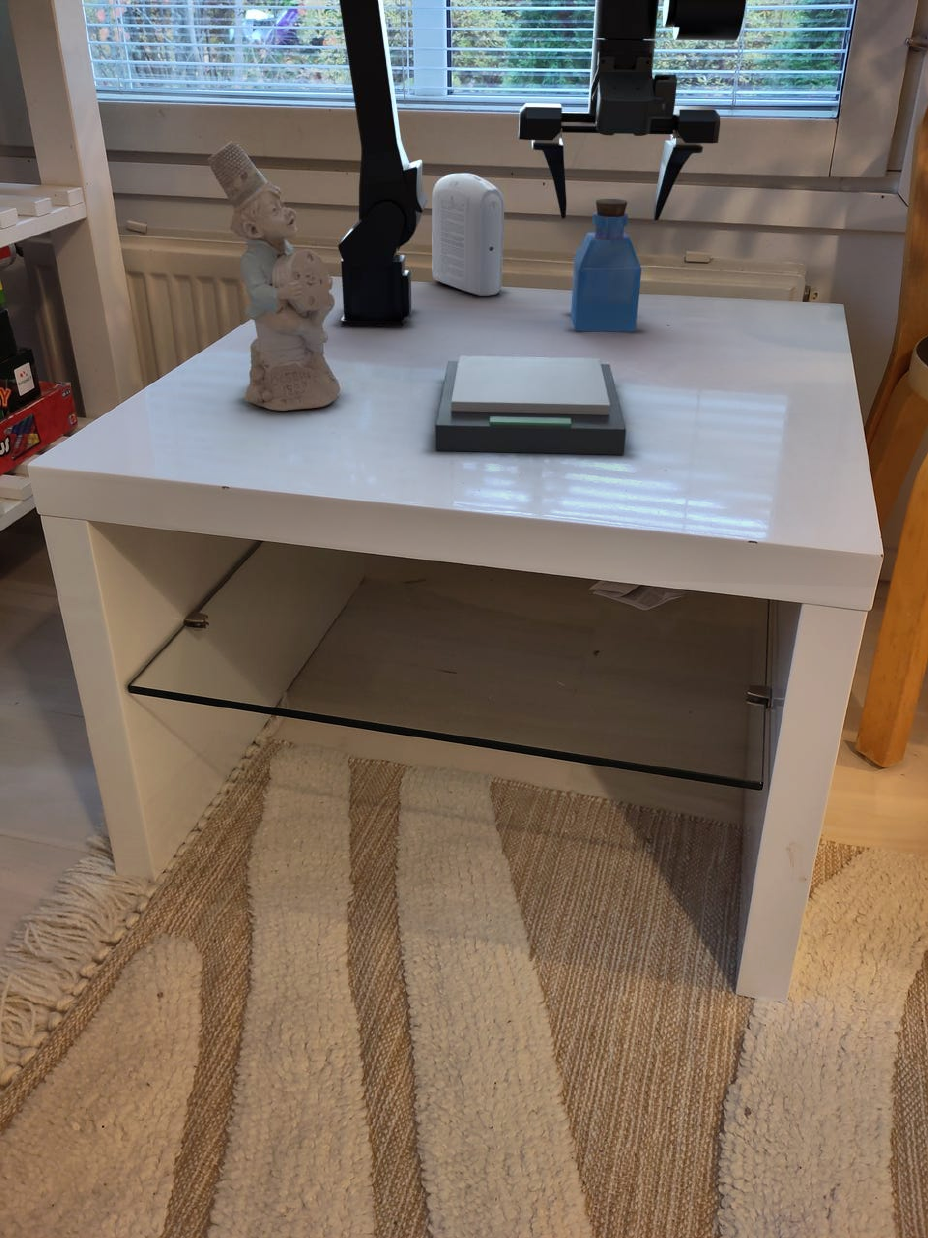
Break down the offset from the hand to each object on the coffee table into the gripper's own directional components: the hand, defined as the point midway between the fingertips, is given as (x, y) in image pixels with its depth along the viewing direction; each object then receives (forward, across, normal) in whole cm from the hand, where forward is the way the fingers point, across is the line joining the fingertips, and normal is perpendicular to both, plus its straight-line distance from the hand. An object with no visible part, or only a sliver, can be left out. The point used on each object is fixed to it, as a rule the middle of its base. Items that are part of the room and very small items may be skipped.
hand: (609, 218), depth 101 cm
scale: (+10, -8, -29) cm, 32 cm away
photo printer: (+11, -15, +15) cm, 24 cm away
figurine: (+11, -28, -26) cm, 40 cm away
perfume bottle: (+10, 0, 0) cm, 11 cm away
